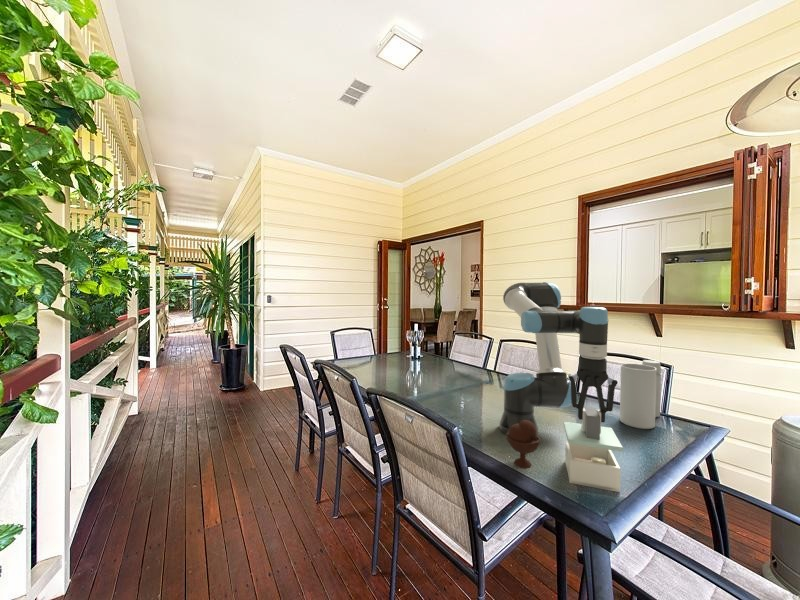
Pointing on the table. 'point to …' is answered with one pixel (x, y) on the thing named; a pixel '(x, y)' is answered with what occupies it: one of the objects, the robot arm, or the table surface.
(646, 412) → the cylinder vase
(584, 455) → the crate
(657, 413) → the water bottle
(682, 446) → the table surface
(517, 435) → the ice cream bowl
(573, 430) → the lid
